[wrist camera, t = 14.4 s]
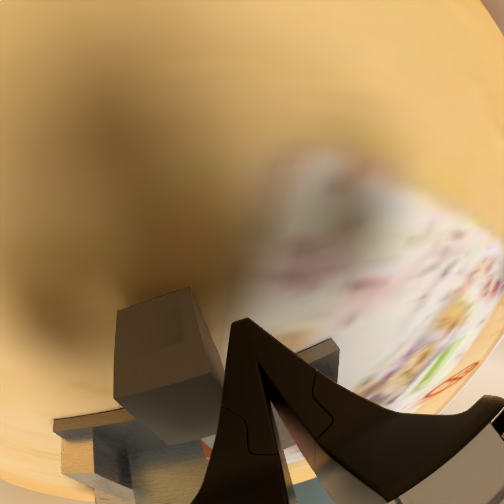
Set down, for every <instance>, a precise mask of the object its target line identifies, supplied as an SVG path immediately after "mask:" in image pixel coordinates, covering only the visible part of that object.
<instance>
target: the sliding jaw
mask: <svg viewBox="0 0 504 504" xmlns="http://www.w3.org/2000/svg"><path fill="white" fill-rule="evenodd" d="M224 375H225V372H224V369H223V366H222V363H221V360H220V357H219V353H218V351H217V349H216V347H215V344H214V342H213V340H212V338H211V336H210V333H209V331H208V329H207V327H206V325H205V322H204V320H203V318H202V316H201V313H200V311H199V309H198V306H197V304H196V302H195V299H194V297H193V295H192V292H191V290H190V287H187V288H184V289H181V290H178V291H175V292H172V293H170V294H167V295H164V296H161V297H158V298H155V299H152V300H149V301H146V302H143V303H140V304H137V305H134V306H131V307H128V308H125V309H122V310H119V311H117V322H116V335H115V352H114V399H115V400H116V401H117V402H118V403H119V404H120V405H121V406H122V407H123V408H124V409H125V410H127V411H128V412H129V413H130V414H131V415H132V416H133V417H135V418H136V419H137V420H138V421H139V422H140V423H142V424H143V425H144V426H145V427H146V428H148V429H149V430H150V431H151V432H153V433H154V434H155V435H156V436H158V437H159V438H160V439H162V440H163V441H164V442H165V443H167V444H168V445H169V446H172V445H177V444H181V443H185V442H189V441H193V440H197V439H201V442H202V446H203V450H204V453H205V457H206V458H207V459H208V460H209V459H210V455H211V452H212V448H213V445H214V441H215V436H216V432H217V427H218V421H219V414H220V407H221V399H222V391H223V383H224Z"/></svg>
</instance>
